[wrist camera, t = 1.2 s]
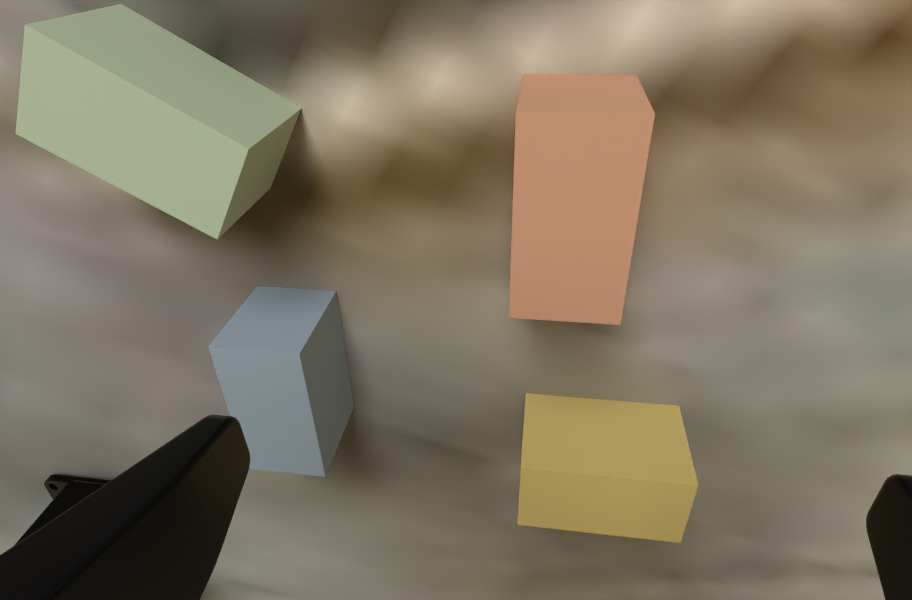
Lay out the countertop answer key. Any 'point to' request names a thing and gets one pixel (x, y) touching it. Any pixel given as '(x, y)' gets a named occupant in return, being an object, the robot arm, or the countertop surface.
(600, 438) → the ochre block
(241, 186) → the sage block
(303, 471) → the slate-blue block
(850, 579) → the countertop surface
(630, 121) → the terracotta block
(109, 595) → the robot arm
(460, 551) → the countertop surface
